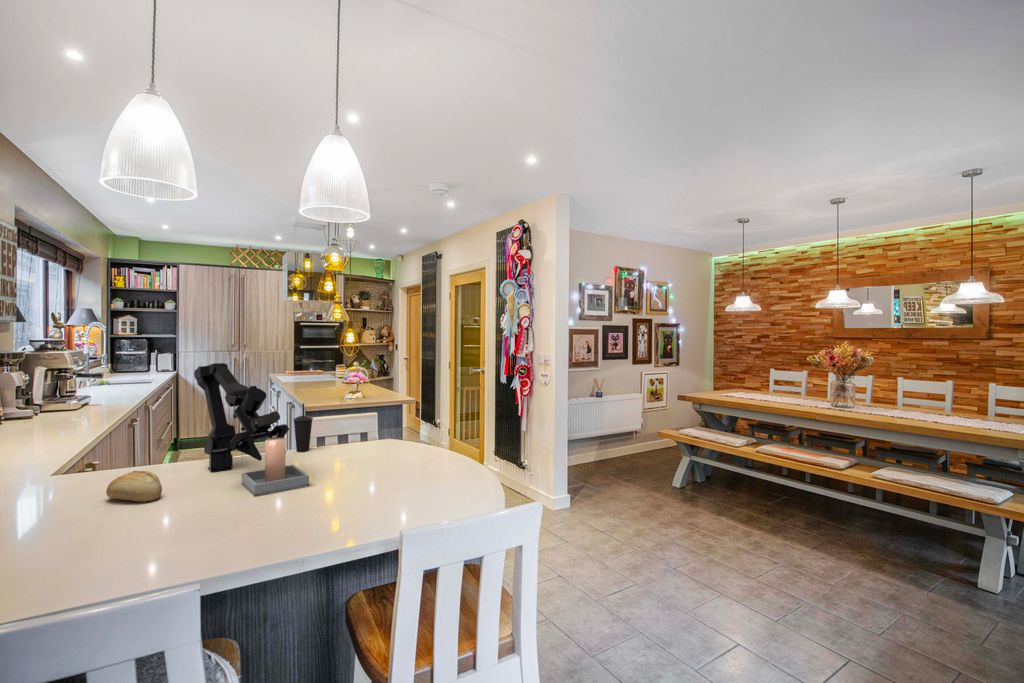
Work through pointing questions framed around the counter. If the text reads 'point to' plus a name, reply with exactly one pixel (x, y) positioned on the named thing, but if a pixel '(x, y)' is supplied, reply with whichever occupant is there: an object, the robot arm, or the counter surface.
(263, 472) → the tray
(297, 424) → the drinking cup
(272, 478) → the canister
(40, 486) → the counter surface
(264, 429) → the robot arm
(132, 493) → the bread roll
